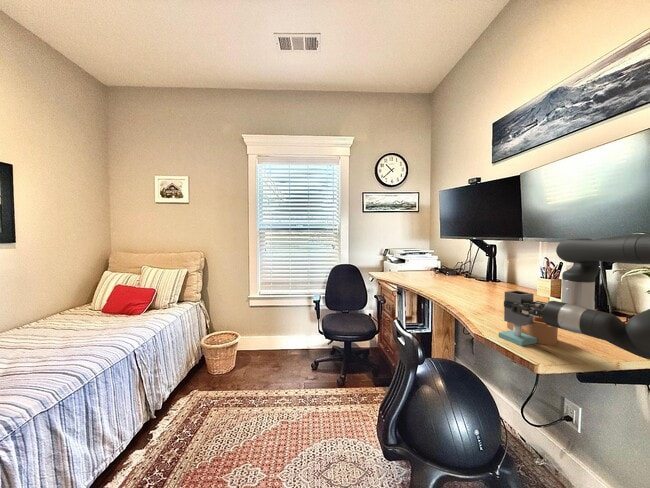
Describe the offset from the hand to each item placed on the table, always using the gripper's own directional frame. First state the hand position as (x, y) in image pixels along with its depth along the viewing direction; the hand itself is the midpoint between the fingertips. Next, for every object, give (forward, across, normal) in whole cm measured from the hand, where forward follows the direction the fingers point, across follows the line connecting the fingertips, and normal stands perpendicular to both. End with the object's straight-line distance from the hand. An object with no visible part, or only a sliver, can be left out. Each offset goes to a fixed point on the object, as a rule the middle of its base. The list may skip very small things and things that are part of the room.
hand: (511, 302), depth 93 cm
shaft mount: (-2, 0, -12) cm, 12 cm away
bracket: (0, +9, -12) cm, 16 cm away
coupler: (-3, 0, -6) cm, 7 cm away
